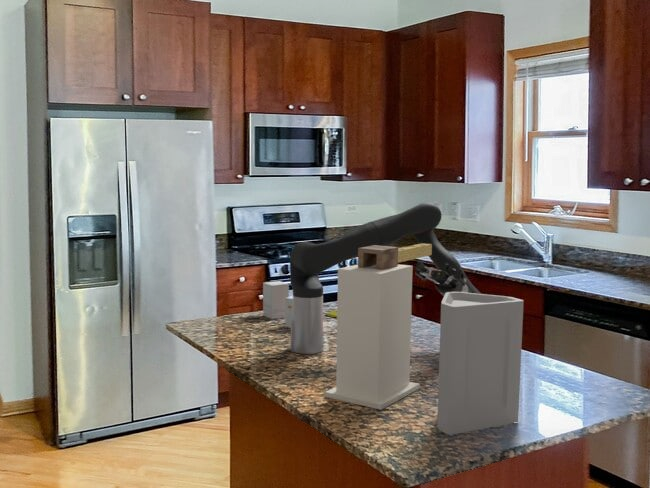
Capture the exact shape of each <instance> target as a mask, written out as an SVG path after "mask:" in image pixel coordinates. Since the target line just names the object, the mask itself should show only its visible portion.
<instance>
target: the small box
mask: <svg viewBox="0 0 650 488" xmlns="http://www.w3.org/2000/svg"><path fill="white" fill-rule="evenodd" d="M284 319H285V321H284V322H285V328H287V327H288V328H290V329H291V321H292V320H293V294H292V295H289V297H287V298H285V318H284ZM288 328H287V329H288Z"/></svg>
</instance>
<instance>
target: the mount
mask: <svg viewBox="0 0 650 488" xmlns="http://www.w3.org/2000/svg"><path fill="white" fill-rule="evenodd" d="M398 248H399V246H390V245H388V246H379V245H373V246H367V247H362V248H358V257H357V264H354V265H349V266H343V267H340V268H337V300H336V301H337V308H336V309H337V310H336V311H337V318H336V319H337V320H336V376H335V377H336V379H335V382H336V383H335V384H336V385H335V387H332V388H330V389H328V390H326V391H325V392H324V397H325V398H329V399H334V400H338V401H342V402H346V403H350V404H355V405H359V406H363V407H368V408H372V409H376V410H380V411H382V410H383V409H385V408H387V407H388V406H391V405H392V404H394V403H396V402H398V401H400V400H401V399H403V398H405V397H407V396H409V395H410V394H412V393H414V392H416V391H417V390H419V389H420V388H421V383H418V382H413V381H410V378H411V377H410V376H411V375H410V373H411V344H412V343H411V340H412V339H411V337H412V336H411V335H412V334H411V333H412V306H413V305H412V304H413V303H412V301H413V300H412V298H413V294H412V293H413V265H408V264H400V263H398Z"/></svg>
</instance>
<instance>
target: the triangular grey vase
mask: <svg viewBox="0 0 650 488" xmlns="http://www.w3.org/2000/svg"><path fill="white" fill-rule="evenodd" d="M524 302H525V301H524V299H520V298H516V297H513V296H505V295H495V294H487V293H485V294H484V293H481V294H476V293H465V292H446V293H445V295H444V296H443V298H442V300H441V304H440V329H439V331H440V332H439V333H440V335H439V359H438V360H439V362H438V369H439V370H438V388H437V389H438V393H437V394H438V395H437V421H436V423H437V429H438V430H439V431H441V432H443V433H444V434H446V435H456V434H462V433H463V434H464V433H469V432H474V431H479V430H480V431H482V430H486V429H485V428H487V429H490V428H489V427H493V428H496V427H495V426H498V427H502V426H501V425H504V426H507V425H506V424H510V425H512V424H511V423H514V422H518V423H519V413H520V409H519V407H520V390H521V389H520V385H521V369H522V368H521V367H522V345H523V344H522V343H523V320H524Z"/></svg>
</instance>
